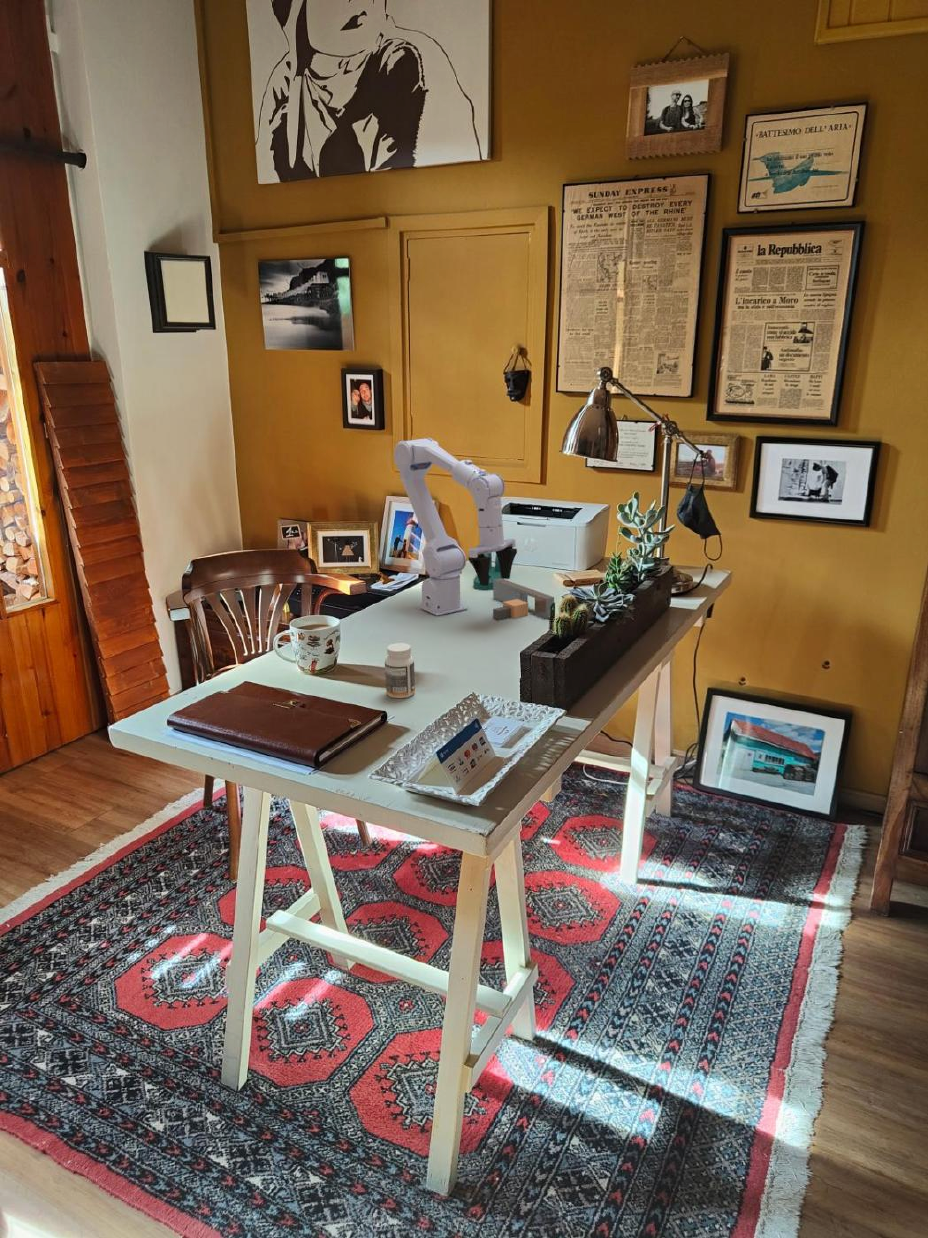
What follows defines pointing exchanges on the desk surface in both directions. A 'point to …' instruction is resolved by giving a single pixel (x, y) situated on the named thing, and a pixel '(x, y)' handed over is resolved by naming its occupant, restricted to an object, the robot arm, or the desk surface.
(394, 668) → the pill bottle
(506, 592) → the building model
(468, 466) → the robot arm
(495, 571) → the bracket
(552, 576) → the desk surface
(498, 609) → the plug
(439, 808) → the desk surface
